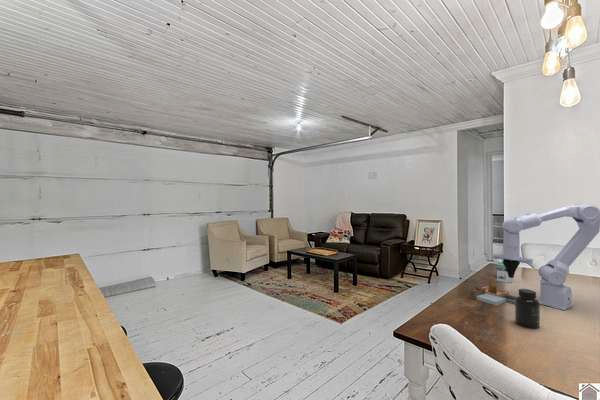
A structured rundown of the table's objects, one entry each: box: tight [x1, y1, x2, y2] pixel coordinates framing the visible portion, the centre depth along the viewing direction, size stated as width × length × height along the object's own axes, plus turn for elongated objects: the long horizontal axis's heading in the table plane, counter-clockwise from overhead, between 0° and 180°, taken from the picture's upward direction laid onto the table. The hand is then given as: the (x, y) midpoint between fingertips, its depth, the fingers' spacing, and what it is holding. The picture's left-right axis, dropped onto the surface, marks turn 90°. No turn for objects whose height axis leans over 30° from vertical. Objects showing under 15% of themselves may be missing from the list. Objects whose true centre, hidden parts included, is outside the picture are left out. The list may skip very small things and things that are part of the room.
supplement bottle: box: [514, 288, 541, 329], centre depth 101 cm, size 7×7×12 cm
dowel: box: [487, 276, 498, 294], centre depth 132 cm, size 3×3×7 cm
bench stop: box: [470, 286, 485, 301], centre depth 128 cm, size 2×8×4 cm, turn 119°
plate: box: [476, 293, 507, 306], centre depth 124 cm, size 8×8×2 cm
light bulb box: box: [496, 259, 513, 284], centre depth 155 cm, size 11×7×11 cm, turn 143°
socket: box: [498, 294, 517, 305], centre depth 124 cm, size 7×7×1 cm
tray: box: [482, 285, 510, 296], centre depth 132 cm, size 9×9×2 cm
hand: (511, 277), depth 125 cm, fingers closed
